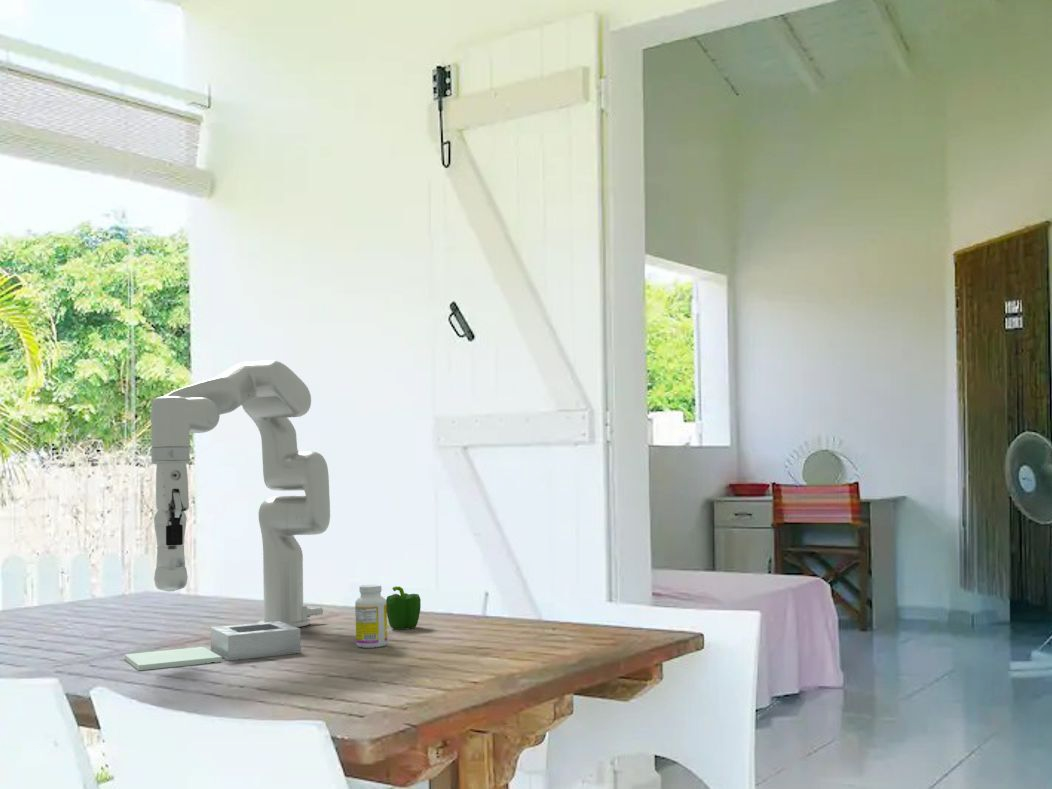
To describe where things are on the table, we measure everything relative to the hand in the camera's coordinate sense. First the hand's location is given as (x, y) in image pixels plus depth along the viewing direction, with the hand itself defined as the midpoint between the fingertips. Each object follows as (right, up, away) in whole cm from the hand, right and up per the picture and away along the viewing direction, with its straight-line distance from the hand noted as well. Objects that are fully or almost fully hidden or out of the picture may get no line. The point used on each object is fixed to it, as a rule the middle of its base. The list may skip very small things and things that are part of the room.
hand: (170, 543), depth 234 cm
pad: (+1, -24, -1) cm, 24 cm away
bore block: (+16, -24, +7) cm, 29 cm away
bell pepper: (+44, -25, +37) cm, 62 cm away
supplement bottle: (+40, -24, +11) cm, 47 cm away
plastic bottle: (0, -10, -1) cm, 10 cm away
